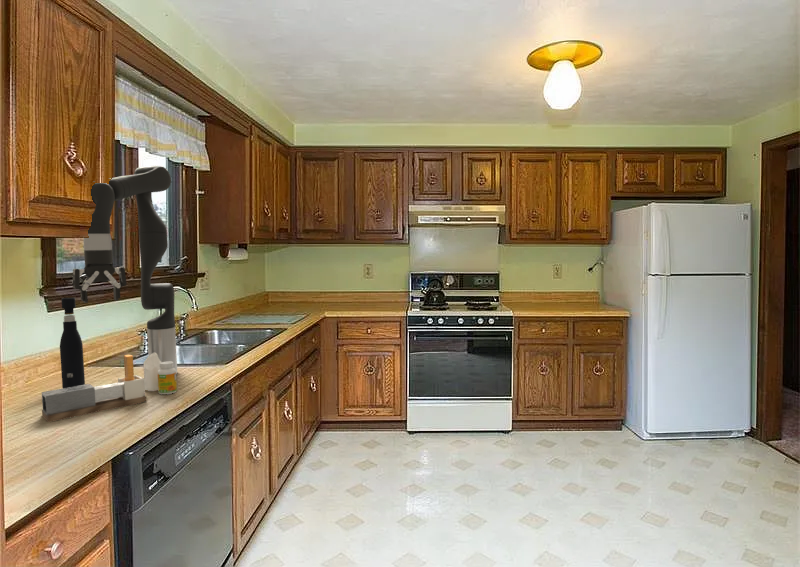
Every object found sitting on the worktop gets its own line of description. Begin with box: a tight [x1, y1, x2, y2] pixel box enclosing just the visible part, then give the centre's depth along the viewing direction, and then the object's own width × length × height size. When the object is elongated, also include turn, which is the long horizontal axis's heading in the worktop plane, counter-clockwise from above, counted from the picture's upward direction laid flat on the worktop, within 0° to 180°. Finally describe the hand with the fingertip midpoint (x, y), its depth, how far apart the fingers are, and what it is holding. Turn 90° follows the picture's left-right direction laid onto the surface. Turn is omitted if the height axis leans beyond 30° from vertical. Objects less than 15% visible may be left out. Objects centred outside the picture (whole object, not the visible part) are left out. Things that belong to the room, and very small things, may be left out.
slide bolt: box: [93, 354, 135, 402], centre depth 155 cm, size 14×4×12 cm, turn 134°
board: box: [41, 395, 147, 423], centre depth 153 cm, size 25×8×2 cm, turn 134°
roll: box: [143, 352, 161, 392], centre depth 172 cm, size 6×12×6 cm
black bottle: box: [59, 297, 86, 389], centre depth 175 cm, size 6×6×30 cm
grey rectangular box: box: [41, 383, 96, 416], centre depth 148 cm, size 12×5×5 cm, turn 134°
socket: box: [117, 374, 146, 400], centre depth 159 cm, size 6×6×5 cm
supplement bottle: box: [157, 361, 178, 395], centre depth 168 cm, size 5×5×10 cm
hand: (101, 301), depth 163 cm, fingers open, 8 cm apart
